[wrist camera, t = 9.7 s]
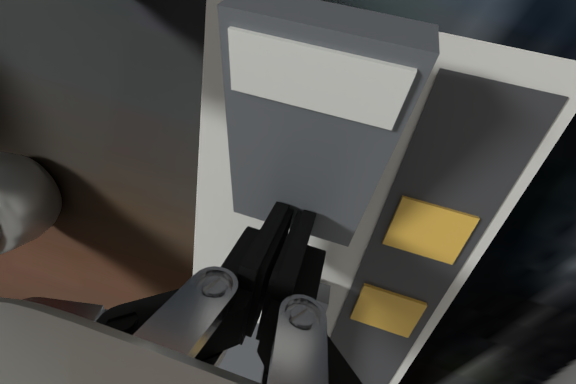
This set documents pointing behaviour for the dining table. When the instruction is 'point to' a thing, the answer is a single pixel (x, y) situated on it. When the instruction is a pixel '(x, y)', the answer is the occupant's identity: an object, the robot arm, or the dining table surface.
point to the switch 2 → (246, 356)
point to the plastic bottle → (25, 201)
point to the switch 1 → (317, 104)
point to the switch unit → (410, 193)
